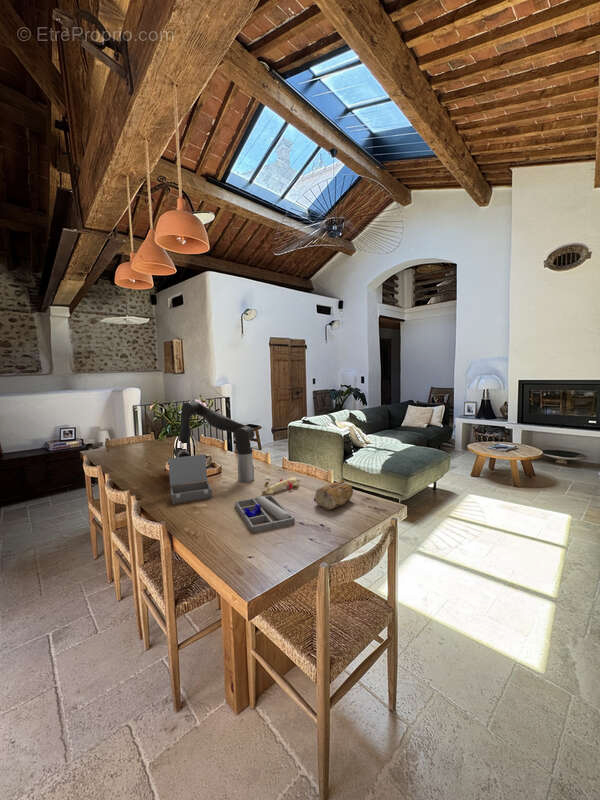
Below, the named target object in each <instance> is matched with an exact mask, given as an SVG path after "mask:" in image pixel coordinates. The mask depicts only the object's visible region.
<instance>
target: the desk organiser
mask: <svg viewBox="0 0 600 800" xmlns="http://www.w3.org/2000/svg"><path fill="white" fill-rule="evenodd" d="M263 496H264V497H266V499H268V500H269V501H271V502H272V503H274V504H275V505H277V506H278V507H280V508H281V509H283V510H284V511H286V512H287V513H289V514H290V518H289V519H285V520H275V521H273V520H272V519H271V517H269V515H268V514H267V512H266V510H264V509H263V508H262V507H261V513H260V515H256V517H251V518H248V517H247V516H246V514H245V513H244V509H246V508H247V509H249V511H250V512H252V511H253V510H254V509H255V505H257V504H258V503H257V499H258V497H255V498H253V497H252V498H248V499H243V500H236V501H234V502H235V508H236V509H237V511H238V512H239V514H240V515H241V517H242V519H243V521H244V522H245V524H246V525H247V526H248V529H249V530H250V532H251V533H257V532H262V531H266V530H272V529H277V528H283V527H285V526H290V525H295V522H296V521H295V517H294V516H293V515H292V514H291V513H290V512H289V511H288V510H287V509H286V508H285V507H284V506H283V505H282V504H281V503H280V502H279V501H278V500H277V499H276V498H275V496H273V494H270V496H267V495H266V496H265V495H263ZM241 506H242V507H241ZM265 521H266V523H261V522H265ZM256 523H260V524H257V525H256ZM254 524H255V525H254Z"/></svg>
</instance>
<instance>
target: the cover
mask: <svg viewBox="0 0 600 800" xmlns="http://www.w3.org/2000/svg"><path fill="white" fill-rule="evenodd" d="M167 460H168V473H169V485H170V486H176V485H183V484H190V483H197V482H204V481H208V472H207V470H208V469H207V459H206V454H195V455H190V456H185V457H171V458H168V459H167ZM170 486H169V487H170Z"/></svg>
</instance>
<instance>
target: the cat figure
mask: <svg viewBox="0 0 600 800" xmlns="http://www.w3.org/2000/svg"><path fill="white" fill-rule="evenodd" d="M300 482H301V481H300V479H299V478H297V477H295V476H292V477H289V478H288V479H285V480H284V479H283V478H281V479H280V480H279V482H277V483H274V484H273V485H271V486H269V484H270V482H269V481H268V480H267V481H265V483H264V488H266V489H262V491H261V495H262V496H265V495H266V496H270V495H273V494H274V493H275V492H277V491H279V490H281V489H282V488H286V487H289V488H288V490H289V489H290V490H292V488H293V486H296V487H298V486H299V484H300Z"/></svg>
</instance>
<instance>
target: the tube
mask: <svg viewBox="0 0 600 800" xmlns="http://www.w3.org/2000/svg"><path fill="white" fill-rule="evenodd" d="M264 496H265V495H261V496H260V495H259V496H258V497H257V498H258V499H257V503H258V504H259V505H261V508H262V509H263V510H264V511H265V512H266V513H269V514H270V515H272V516H273V517H274V518H275V519H277V521H280V520H285V519H289V518H290V514H291V513H290V512H289V513H290V514H289V513H287V512H286V511H284V510H283V509H281V508H280V507H278V506H277V505H275V504H274V503H273V502H272V501H269V500H268V499H266V497H264Z"/></svg>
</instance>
